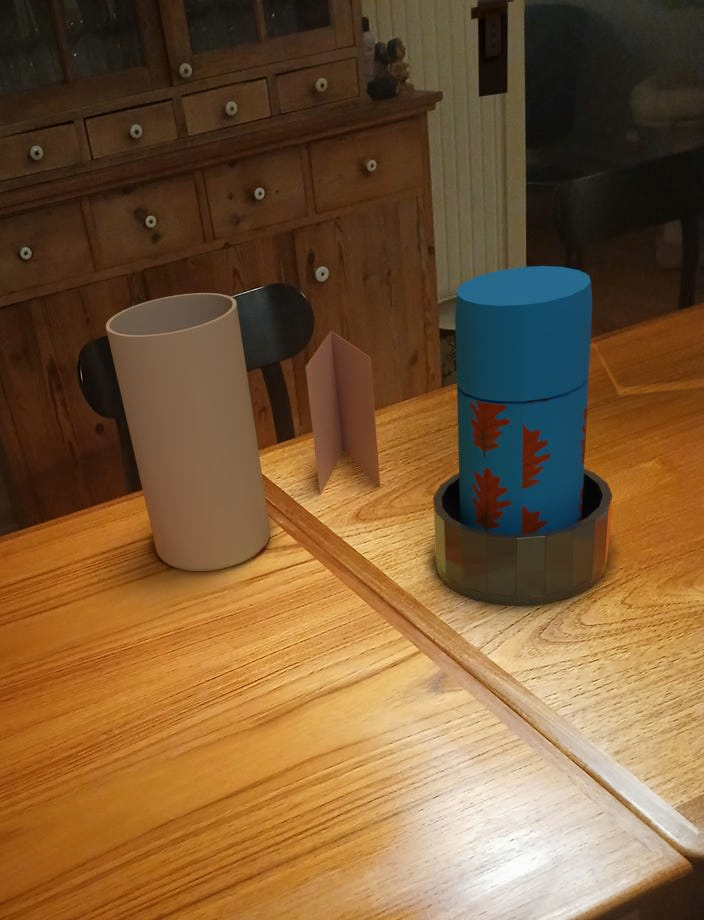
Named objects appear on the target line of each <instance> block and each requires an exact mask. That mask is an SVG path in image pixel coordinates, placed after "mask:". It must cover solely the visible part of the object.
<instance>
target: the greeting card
mask: <svg viewBox="0 0 704 920" xmlns="http://www.w3.org/2000/svg"><path fill="white" fill-rule="evenodd" d="M372 372H373V371H372V359H371V357H370V356H369V355H368V354H366V353H364V352H363V351H361V350H360V349H359V348H357V347H356V346H354V345H353V344H352V343H350V342H349V341H347V340H345V339H344V338H342V337H341V336H339V335H338V334H337V333H335V332H334V331H333V330H330V331H329V333H328V334H327V336H326V337H325V338H324V340H323V341H322V342H321V344H320V345H319V347H318V348H317V350H316V351H315V352H314V354H313V356H312V357H311V358H310V359H309V361H308V363H307V364H306V366H305V376H306V385H307V394H308V402H309V403H308V404H309V411H310V418H311V419H310V420H311V429H312V435H313V436H312V437H313V447H314V455H315V456H314V457H315V462H316V471H317V480H318V481H317V482H318V488H319V489H318V490H319V495H321V494H322V492H323V491H324V489H325V487H326V486H327V485H326V484H327V483H328V481H329V479H330V477H331V475H332V473H333V471H334V470H335V468H336V466H337V464H338V462H339V460H340V458H341V456H342V454H343V453H344V454H345V455H346V456H347V457H348V458H349V459H350V460H351V461H352V462H353V463H354V464H355V465H356V466H357V467H359V468H360V469H361V470H362V471H363V473H365V474H366V475H367V476H368V477H369V478H370V479H372V480H373V481H374V482H375V483H376V484H377V485H378V486H379V487H381V476H380V475H381V474H380V462H379V461H380V460H379V451H378V450H379V449H378V438H377V425H376V411H375V410H376V409H375V397H374V386H373V385H374V384H373V383H374V382H373V373H372ZM342 452H343V453H342Z"/></svg>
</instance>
